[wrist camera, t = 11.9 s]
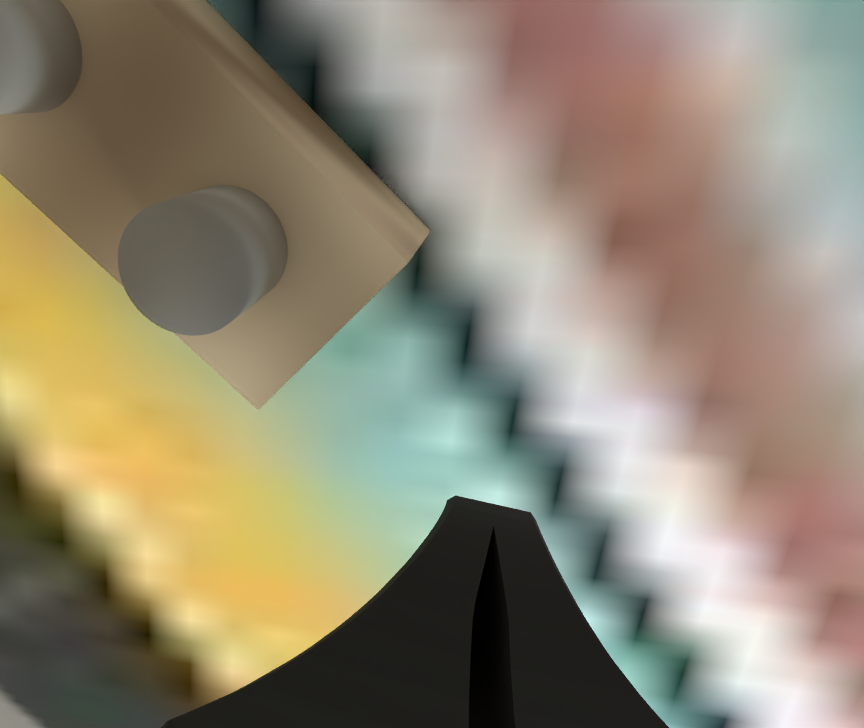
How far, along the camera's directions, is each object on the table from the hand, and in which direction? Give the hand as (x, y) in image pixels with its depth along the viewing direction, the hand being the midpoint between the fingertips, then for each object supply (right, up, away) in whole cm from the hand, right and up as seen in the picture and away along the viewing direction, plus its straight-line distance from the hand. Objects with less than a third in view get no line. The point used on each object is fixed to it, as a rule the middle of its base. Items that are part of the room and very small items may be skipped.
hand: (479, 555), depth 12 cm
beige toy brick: (-5, +8, +3) cm, 10 cm away
